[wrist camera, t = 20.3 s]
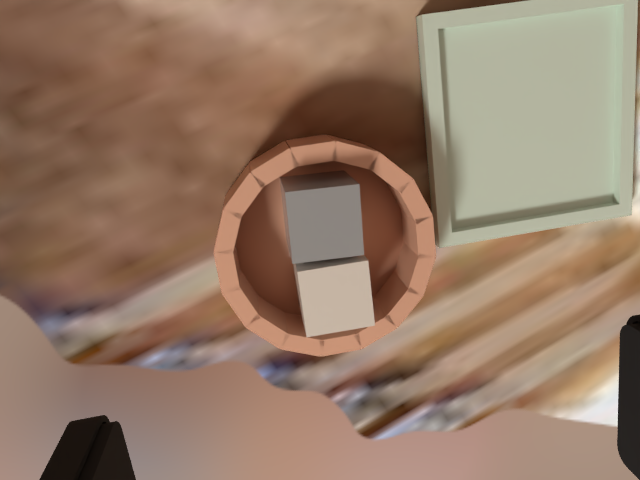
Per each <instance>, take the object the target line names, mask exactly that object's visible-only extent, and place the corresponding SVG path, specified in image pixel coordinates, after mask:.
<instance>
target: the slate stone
mask: <svg viewBox="0 0 640 480" xmlns="http://www.w3.org/2000/svg"><path fill="white" fill-rule="evenodd" d="M280 186H281V196H282V205H283V214H284V223H285V233H286V241H287V244H288V248H289V252H290V256H291V260H292V264H296V263H304V262H312V261H320V260H328V259H336V258H344V257H352V256H361V255H364V245H363V230H362V215H361V200H360V185H359V183H358V182H357V181H355V180H354V179H353V178H352V177H351V176H350V175H349V174H348V173H347V172H345V171H344V170H341V171H332V172H322V173H313V174H304V175H294V176H285V177H280Z"/></svg>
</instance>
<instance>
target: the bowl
mask: <svg viewBox="0 0 640 480" xmlns="http://www.w3.org/2000/svg"><path fill="white" fill-rule="evenodd" d="M285 141H286V142H285ZM285 141H283V142H281V143H280V144H278V145H276V146H275V147H273V148H272V149H270V150H268V151H267V152H265V153H263V154H262V155H260V156H258V157H257V158H255V159H253V160H252V161H250V162H249V163H248V165H247V166H246V167H245V169H244V170H243V172H242V173H241V174H240V176H239V177H238V179H237V180H236V181H235V183H234V184H233V185H232V187H231V188H230V190H229V191H228V192H227V194H226V195H225V200H224V204H223V209H222V213H221V218H220V222H219V227H218V231H217V236H216V242H215V247H214V257H215V262H216V267H217V272H218V277H219V282H220V287H221V292H222V295H223V296H224V297H225V299H226V300H227V302H228V303H229V305H230V306H231V307H232V309H233V310H234V312H235V313H236V315H237V316H238V317H239V319H240V320H241V322H242V323H243V325H244V326H245V327H246V328H247V329H249V330H250V331H252V332H254V333H255V334H257V335H258V336H260V337H262V338H263V339H265V340H266V341H268V342H270V343H271V344H273V345H274V346H276V347H278V348H279V349H282V350H287V351H293V352H298V353H304V354H309V355H315V356H327V355H332V354H338V353H343V352H349V351H354V350H359V349H361V348H362V349H363V348H364V347H366V346H368V345H370V344H371V343H373V342H375V341H376V340H378V339H380V338H381V337H383V336H385V335H386V334H388V333H390V332H392V331H393V330H395V329H397V327H399V325H400V324H401V323H402V322H403V321H404V319H405V318H406V317H407V316H408V314H409V313H410V312H411V311H412V309H413V308H414V307H415V306H416V305H417V303H418V302H419V301H420V300H421V298H422V297H423V295H424V293H425V290H426V287H427V284H428V281H429V277H430V274H431V271H432V268H433V265H434V262H435V259H436V257H435V256H436V248H435V235H434V222H433V216H432V213H431V211H430V209H429V207H428V205H427V203H426V202H425V200H424V198H423V196H422V194H421V192H420V190H419V188H418V186H417V185H416V183H415V181H414V179H413V178H412V177H411V176H409V175H408V174H407V173H405V172H404V171H403V170H402V169H400V168H399V167H398V166H397V165H395V164H394V163H393V162H391V161H390V160H389V159H388V158H386V157H385V156H384V155H382V154H381V153H380V152H378V151H376V150H374V149H372V148H371V147H369V146H367V145H365V144H362V143H358V142H354V141H350V140H346V139H342V138H338V137H334V136H331V135H327V134H324V135H317V136H311V137H304V138H297V139H291V140H285ZM341 170H344V171H345V172H347V173H348V174H349V175H350V176H351V177H352V178H353V179H354V180H355V181H357V182H358V183H359V185H360V200H361V215H362V230H363V245H364V255H365V257H366V258H367V259H368V263H369V273H370V282H371V292H372V301H373V311H374V320H375V326H370V327H364V328H358V329H352V330H347V331H341V332H335V333H329V334H324V335H318V336H312V337H306V332H305V328H304V324H303V320H302V316H301V312H300V308H299V303H298V296H297V289H296V282H295V275H294V269H293V264H292V260H291V256H290V252H289V248H288V244H287V241H286V233H285V223H284V214H283V205H282V196H281V186H280V177H285V176H294V175H304V174H313V173H322V172H332V171H341Z"/></svg>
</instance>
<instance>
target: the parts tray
mask: <svg viewBox="0 0 640 480" xmlns="http://www.w3.org/2000/svg"><path fill="white" fill-rule="evenodd" d="M637 15H638V0H528V1H520V2H513V3H505V4H498V5H490V6H483V7H475V8H468V9H460V10H453V11H446V12H438V13H431V14H423V15H420V16H417V17H416V22H417V34H418V47H419V60H420V73H421V85H422V98H423V111H424V124H425V136H426V149H427V162H428V174H429V187H430V200H431V213H432V216H433V222H434V235H435V244H436V245H437V246H438V247H439V248H442V247H448V246H454V245H460V244H466V243H472V242H478V241H483V240H489V239H495V238H501V237H507V236H513V235H518V234H524V233H530V232H536V231H542V230H548V229H554V228H559V227H565V226H571V225H577V224H583V223H589V222H595V221H600V220H606V219H612V218H618V217H624V216H630V215H632V189H633V155H634V120H635V85H636V50H637Z"/></svg>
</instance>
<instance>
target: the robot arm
mask: <svg viewBox="0 0 640 480" xmlns="http://www.w3.org/2000/svg"><path fill="white" fill-rule="evenodd" d="M617 446H618V451H619V455H620V457H621V459H622V461H623V463H624V464H625V465H626V467H628V469H629V470H630V471H631V472H632V473H633V474H634V475H635V476H636V477H637V478H638V479H639V480H640V315H635V316H632V317H630V318H629V319H628V321H627V324H626V325H624V326H623V327H622V329H621V331H620V356H619V397H618V440H617ZM40 480H136V479H135V475H134V471H133V468H132V464H131V460H130V457H129V453H128V450H127V446H126V442H125V439H124V435H123V432H122V428H121V425H120V424H119V422H117V421H115V422H109V419H108V418H107V417H106V416H105V415H102V416H96V417H91V418H86V419H80V420H75V421H71V422H70V423H69V424H68V425H67V427H66V429H65V431H64V433H63V435H62V437H61V439H60V441H59V443H58V445H57V447H56V449H55V451H54V452H53V455H52V456H51V458H50V460H49V462H48V464H47V466H46V468H45V470H44V472H43V474H42V476H41V478H40Z"/></svg>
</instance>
